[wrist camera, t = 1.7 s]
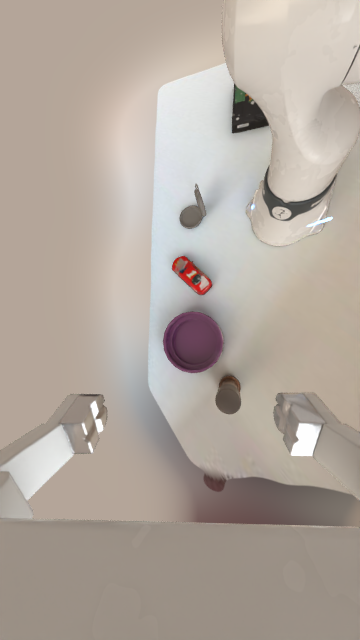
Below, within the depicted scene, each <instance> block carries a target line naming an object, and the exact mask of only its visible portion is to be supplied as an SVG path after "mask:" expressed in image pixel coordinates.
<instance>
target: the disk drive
mask: <svg viewBox="0 0 360 640" xmlns="http://www.w3.org/2000/svg"><path fill="white" fill-rule="evenodd" d="M268 125H269V123H268V121H267V119H266V117H265V115H264V113H263V111H262V110H261V109H260V107H259V106H258V104H257V103H256V102H255V101H254V100H253V99H252V98H251V97H250V96H249V95H248V94H246V93H245V92H244V91H242V90H241V89H239V88H238V87H237V86H236V85H235V83H234V99H233V116H232V133H236V132H242V131H246V130H251V129H255V128H260V127H264V126H268Z"/></svg>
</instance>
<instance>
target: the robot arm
mask: <svg viewBox="0 0 360 640" xmlns="http://www.w3.org/2000/svg"><path fill="white" fill-rule="evenodd" d="M222 44H223V51H224V57H225V61H226V65H227V68H228V71H229V74H230V76H231V78H232V80H233V82H234V83H235V85H236V86H237V87H238V88H239V89H241V90H242V91H244V92H245V93H246V94H248V95H249V96H250V97H251V98H252V99H253V100H254V101H255V102H256V103H257V104H258V106H259V107H260V109H261V110H262V111H263V113H264V115H265V117H266V119H267V121H268V123H269V126H270V129H271V133H272V151H271V159H270V165H269V167H268V169H267V171H266V174H265V177H264V181H263V180H262V181H261V182H260V184H259V189H257V190H256V192H255V196H254V198H253V199H252V200H251V202H250V203H249V205H248V206H247V208H246V214H247V215H248V217H249V218H250V219H251V223H252V228H253V231H254V233H255V235H256V236H257V237H258V238H259V239H260V240H261V241H263V242H264V243H266V244H269V245H273V246H285V245H290V244H293V243H295V242H297V241H299V240H300V239H302V238H304V237H306V236H308V235H313V234H317V233H319V232H320V231H321V230H322V228H323V226H324V222H326V221H329V220H331V219H332V217H330V218H327V219H326V215H327V211H328V207H329V204H330V200H331V196H332V192H333V188H334V185H335V181H336V177H337V172H338V170H339V169H340V167H341V166H342V164H343V162H344V161H345V159H346V157H347V156H348V154H349V153H350V151H351V149H352V148H353V146H354V144H355V143H356V141H357V138H358V136H359V133H360V108H359V105H358V102H357V100H356V98H355V96H354V95H353V94H352V93H351V92H350V91H349V90H347V89H346V88H345V87H343V86H342V85H349V84H357V83H360V0H223V11H222ZM319 223H320V224H319ZM104 401H105V400H104V397H103V395H101V394H70V395H68V396H67V397H66V398H65V400H64V401H63V402H62V404H61V405H60V406H59V407H58V409H57V410H56V411H55V412H54V414H53V415H52V416H51V418H50V419H49V420H48V421H47V423H46V424H41V425H40V426H38V427H36V428H35V429H33V430H31V431H30V432H28V433H27V434H25V435H24V436H22V437H21V438H19V439H17V440H16V441H14V442H13V443H11V444H9V445H8V446H6V447H5V448H3V449H2V450H0V640H360V527H339V526H301V525H300V526H298V525H261V524H225V523H224V524H223V523H186V522H147V521H107V520H68V519H67V520H66V519H31V518H32V516H33V510H32V508H31V506H30V505H29V503H28V501H27V500H28V499H29V498H30V497H31V496H32V495H33V494H34V493H36V492H37V491H38V490H39V489H40V488H41V486H43V485H44V484H45V483H46V482H47V481H48V479H50V478H51V477H52V476H53V475H54V474H55V473H56V472H57V471H58V470H59V469H60V468H61V467H62V466H63V465H64V464H65V463H66V462H67V461H68V460H69V459H70V458H71V457H72V456H73V454H87V453H88V454H89V453H90V454H91V453H93V452H94V449H95V447H96V445H97V443H98V441H99V435H98V434H99V433H100V432H101V431H102V430H103V429H104V427H105V425H106V421H107V408H106V407H105V406H104V405H103V403H104ZM276 401H277V403H278V404H277V405H276V406H275V407H274V412H273V414H274V420H275V424H276V426H277V428H278V430H279V431H281V432H282V433H283V434H284V437H283V440H284V442H285V444H286V446H287V448H288V450H289V452H290V454H291V455H299V456H313V458H314V459H315V460H316V461H317V462H318V463H319V464H320V465H321V466H323V467H324V468H325V469H326V470H327V471H328V472H329V473H330V474H331V475H332V476H333V477H334V478H335V479H337V480H338V481H339V482H340V483H341V484H342V485H343V486H344V487H345V488H346V489H347V490H348V491H349V492H350V493H352V494H353V495H354V496H355V497H356V498H357V499H358V500H359V501H360V432H358V431H357V430H355V429H353V428H352V427H350V426H348V425H347V424H341V422H340V421H339V420H338V419H337V418H336V417H335V416H334V414H333V413H332V412H331V411H330V410H329V409H328V407H327V406H326V405H325V404H324V403H323V402H322V400H321V399H320V398H319V397H318V396H317V395H316V394H315V393H313V392H307V393H278V394H277V396H276Z"/></svg>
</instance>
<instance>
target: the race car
mask: <svg viewBox="0 0 360 640" xmlns="http://www.w3.org/2000/svg"><path fill="white" fill-rule="evenodd" d="M172 270H173V271H174V272H175V273H176V274H177V275H178V276H179V277H180V278H181V279H182V280H183V281H184V282H186V283H187V284H188V285H189V286H190V287H191V288H192V289H193V290H194V291H195V292H196V293H198V294H200V295H203V294H205V293H206V292H207V291H208V290H209V289H210V288H211V287H212V282H211V280H210V279H209V278H208V277H207V276H206V275H205V274H204V273H203V272H202V271H201V270H199V269H198V268H197V267H196V266H195V265H194V264H193V261H192V262H191V261H190V260H188V259H187V258H186V257H185V256H181V257H178V258H177V259H175V260H174V262H173V265H172Z"/></svg>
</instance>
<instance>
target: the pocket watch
mask: <svg viewBox="0 0 360 640" xmlns="http://www.w3.org/2000/svg"><path fill="white" fill-rule="evenodd" d="M196 185H197V184H195V187H196ZM197 188H198V185H197ZM197 188H196V189H195V191H194V193H195V197H196V200H197V203H198V206H199V207H197V206H189V207H186V208H185V209H184V210H183V211H182V212H181V215H180V223H181V224H182V226H183V227H185V228H188V229H191V228H194V227H196V226H198V225H199V224H200V222H201V220H202V216H203V217H204V216H205V215H206V210H205V206H204V203H203V200H202V197H201V194H200V192H199V188H198V189H197Z"/></svg>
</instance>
